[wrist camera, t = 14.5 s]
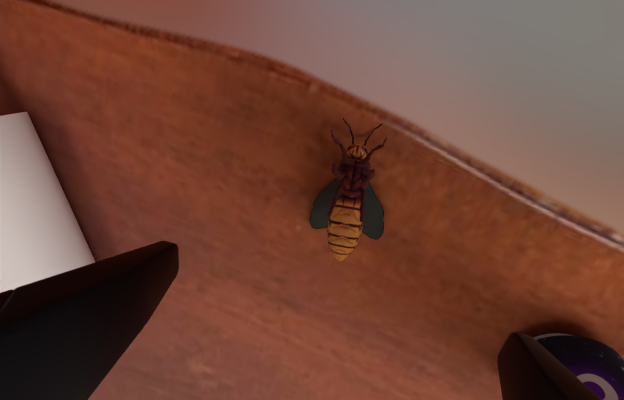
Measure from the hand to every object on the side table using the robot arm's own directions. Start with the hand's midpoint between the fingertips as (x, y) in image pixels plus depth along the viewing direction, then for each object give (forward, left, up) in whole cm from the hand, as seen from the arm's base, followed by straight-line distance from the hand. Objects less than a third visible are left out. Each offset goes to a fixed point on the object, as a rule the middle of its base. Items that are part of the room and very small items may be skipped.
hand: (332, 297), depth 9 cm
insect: (0, 0, -4) cm, 4 cm away
